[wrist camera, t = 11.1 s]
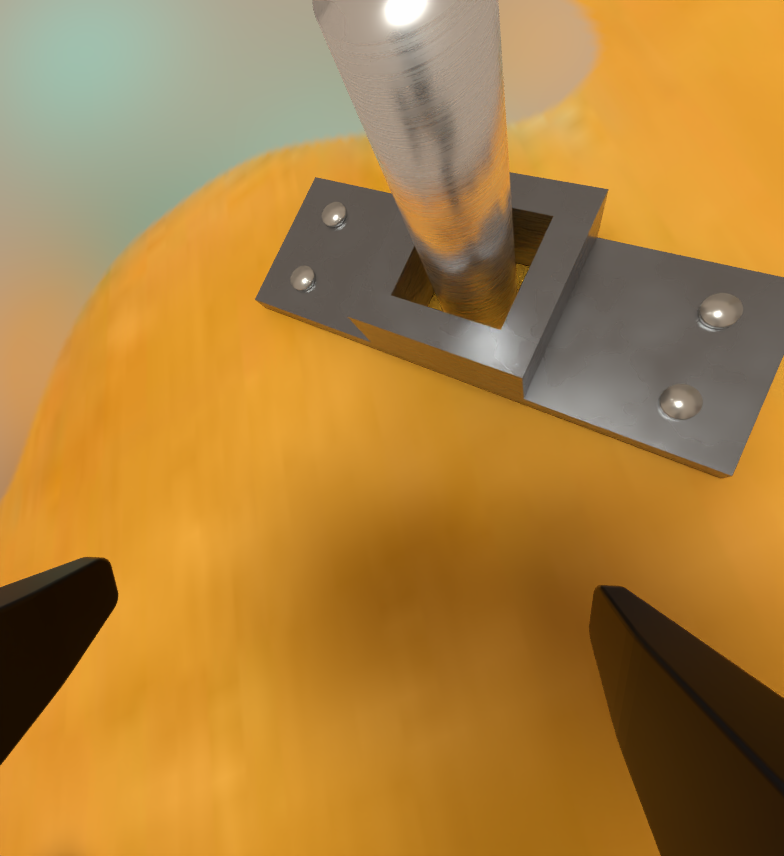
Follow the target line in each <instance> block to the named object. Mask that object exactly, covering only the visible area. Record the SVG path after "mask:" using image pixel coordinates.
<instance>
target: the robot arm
mask: <svg viewBox="0 0 784 856" xmlns="http://www.w3.org/2000/svg"><path fill="white" fill-rule="evenodd" d="M117 601H118V590H117V586H116V582H115V578H114V574H113V570H112V566H111V563H110V562H109V561H108V560H107V559H105V558H99V557H83V558H80V559H77V560H75V561H72V562H69V563H66V564H64V565H61V566H58V567H55V568H53V569H50V570H47V571H44V572H42V573H39V574H36V575H33V576H31V577H28V578H25V579H22V580H19V581H17V582H14V583H11V584H8V585H6V586H3V587H0V765H1V764H2V763H3V762H4V760H5V759H6V758H7V756H8V755H9V754H10V753H11V751H12V750H13V749H14V748H15V746H16V745H17V744H18V742H19V741H20V740H21V739H22V737H23V736H24V735H25V733H26V732H27V731H28V730H29V728H30V727H31V726H32V724H33V723H34V722H35V721H36V719H37V718H38V717H39V715H40V714H41V713H42V712H43V710H44V709H45V708H46V706H47V705H48V704H49V703H50V701H51V700H52V699H53V697H54V696H55V695H56V693H57V692H58V691H59V689H60V688H61V687H62V685H63V684H64V683H65V681H66V680H67V678H68V677H69V675H70V674H71V673H72V671H73V670H74V668H75V667H76V665H77V664H78V662H79V661H80V659H81V658H82V656H83V655H84V653H85V652H86V650H87V649H88V647H89V646H90V644H91V643H92V641H93V640H94V638H95V637H96V635H97V634H98V632H99V631H100V629H101V628H102V626H103V625H104V623H105V621H106V620H107V618H108V617H109V615H110V614H111V612H112V611H113V609H114V608H115V606H116V604H117ZM589 632H590V639H591V644H592V647H593V651H594V655H595V659H596V662H597V666H598V670H599V674H600V677H601V681H602V685H603V689H604V692H605V696H606V700H607V704H608V707H609V711H610V715H611V719H612V722H613V726H614V729H615V733H616V736H617V739H618V742H619V745H620V748H621V751H622V754H623V756H624V759H625V762H626V764H627V767H628V770H629V772H630V775H631V778H632V780H633V783H634V786H635V788H636V791H637V794H638V796H639V799H640V802H641V804H642V807H643V810H644V812H645V815H646V818H647V820H648V823H649V826H650V828H651V831H652V833H653V836H654V839H655V841H656V844H657V847H658V849H659V852H660V855H661V856H784V698H783V697H781V696H780V695H779V694H777V693H776V692H774V691H773V690H771V689H770V688H768V687H767V686H766V685H764V684H763V683H761V682H760V681H758V680H757V679H756V678H754V677H753V676H751V675H750V674H748V673H747V672H745V671H744V670H743V669H741V668H740V667H738V666H737V665H735V664H734V663H732V662H731V661H730V660H728V659H727V658H725V657H724V656H722V655H721V654H719V653H718V652H717V651H715V650H714V649H712V648H711V647H709V646H708V645H707V644H705V643H704V642H702V641H701V640H699V639H698V638H696V637H695V636H694V635H692V634H691V633H689V632H688V631H686V630H685V629H683V628H682V627H681V626H679V625H678V624H676V623H675V622H673V621H672V620H670V619H669V618H668V617H666V616H665V615H663V614H662V613H660V612H659V611H657V610H656V609H655V608H653V607H652V606H650V605H649V604H647V603H646V602H645V601H643V600H642V599H640V598H639V597H637V596H636V595H634V594H633V593H632V592H630V591H629V590H627V589H626V588H624V587H621V586H608V585H599V586H597V587H596V588H595V591H594V594H593V602H592V609H591V616H590V624H589Z"/></svg>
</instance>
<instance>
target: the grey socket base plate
mask: <svg viewBox="0 0 784 856" xmlns="http://www.w3.org/2000/svg"><path fill="white" fill-rule="evenodd" d="M509 173H510V172H509ZM510 188H511V203H512V219H513V234H514V249H515V263H519V264H523V265H527V266H530V268H529V270H528V272H527V274H526V277H525V279H524V281H523V283H522V285H521V287H520V290H519V292H518V294H517V296H516V298H515V300H514V303H513V305H512V307H511V309H510V311H509V313H508V316H507V318H506V320H505V322H504V324H503V326H502V329H501V330H499V329H496V328H493V327H490V326H486V325H483V324H480V323H477V322H474V321H471V320H467V319H464V318H461V317H458V316H455V315H452V314H448V313H445V312H442V311H439V310H436V309H433V308H429V307H427V306H428V304H429V302H430V300H431V298H432V295H433V293H434V289H433V287H432V285H431V282H430V280H429V278H428V275H427V273H426V271H425V268H424V266H423V264H422V261H421V259H420V257H419V255H418V252H417V250H416V248H415V245H414V243H413V241H412V238H411V236H410V234H409V231H408V229H407V227H406V225H405V222H404V220H403V218H402V215H401V213H400V211H399V208H398V206H397V204H396V202H395V199H394V197H393V195H392V194H391V193H386V192H382V191H377V190H372V189H368V188H363V187H358V186H354V185H349V184H344V183H339V182H335V181H330V180H325V179H321V178H316V177H315V179H314V181H313V183H312V185H311V187H310V189H309V191H308V193H307V195H306V198H305V200H304V202H303V204H302V206H301V208H300V210H299V212H298V214H297V216H296V218H295V220H294V222H293V224H292V226H291V228H290V230H289V232H288V234H287V236H286V238H285V240H284V242H283V244H282V246H281V248H280V250H279V252H278V254H277V256H276V258H275V260H274V262H273V264H272V266H271V268H270V270H269V272H268V274H267V276H266V278H265V280H264V282H263V284H262V286H261V288H260V290H259V292H258V294H257V296H256V298H255V300H256V301H258V302H259V303H260V304H261V305H263V306H264V307H265V308H268V309H271V310H273V311H276V312H279V313H281V314H284V315H287V316H289V317H292V318H295V319H297V320H300V321H303V322H305V323H308V324H311V325H313V326H316V327H319V328H321V329H324V330H327V331H329V332H332V333H335V334H337V335H340V336H343V337H345V338H348V339H351V340H353V341H356V342H359V343H361V344H364V345H367V346H369V347H372V348H375V349H377V350H380V351H383V352H385V353H388V354H391V355H393V356H396V357H399V358H401V359H404V360H407V361H409V362H412V363H415V364H417V365H420V366H423V367H425V368H428V369H431V370H433V371H436V372H439V373H441V374H444V375H447V376H449V377H452V378H455V379H457V380H460V381H463V382H465V383H468V384H471V385H473V386H476V387H479V388H481V389H484V390H487V391H489V392H492V393H495V394H497V395H500V396H503V397H505V398H508V399H511V400H513V401H516V402H519V403H521V404H524V405H527V406H529V407H532V408H535V409H537V410H540V411H543V412H545V413H548V414H551V415H553V416H556V417H559V418H561V419H564V420H567V421H569V422H572V423H575V424H577V425H580V426H583V427H585V428H588V429H591V430H593V431H596V432H599V433H601V434H604V435H607V436H610V437H612V438H615V439H618V440H620V441H623V442H626V443H628V444H631V445H634V446H636V447H639V448H642V449H644V450H647V451H650V452H652V453H655V454H658V455H660V456H663V457H666V458H668V459H671V460H674V461H676V462H679V463H682V464H684V465H687V466H690V467H692V468H695V469H698V470H700V471H703V472H706V473H708V474H711V475H714V476H716V477H719V478H725V477H730V476H732V475H733V473H734V471H735V468H736V466H737V464H738V461H739V459H740V457H741V454H742V452H743V449H744V447H745V445H746V442H747V440H748V438H749V435H750V433H751V431H752V428H753V426H754V424H755V421H756V419H757V417H758V414H759V412H760V409H761V407H762V405H763V402H764V400H765V398H766V395H767V393H768V391H769V388H770V386H771V384H772V381H773V379H774V376H775V374H776V372H777V369H778V367H779V365H780V362H781V360H782V358H783V355H784V277H779V276H774V275H770V274H765V273H760V272H756V271H751V270H746V269H742V268H737V267H732V266H728V265H723V264H718V263H714V262H709V261H704V260H700V259H695V258H690V257H686V256H681V255H676V254H672V253H667V252H662V251H657V250H653V249H648V248H643V247H639V246H634V245H629V244H625V243H620V242H615V241H611V240H606V239H601V238H597V236H598V232H599V228H600V223H601V219H602V215H603V210H604V206H605V202H606V198H607V193H608V189H603V188H597V187H592V186H586V185H580V184H574V183H568V182H562V181H557V180H551V179H545V178H539V177H533V176H528V175H522V174H516V173H510Z"/></svg>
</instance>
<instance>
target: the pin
mask: <svg viewBox="0 0 784 856" xmlns="http://www.w3.org/2000/svg"><path fill="white" fill-rule="evenodd" d="M313 10H314V13H315V17H316V19H317V22H318V24H319V26H320V28H321V30H322V33H323V35H324V38H325V40H326V42H327V45H328V47H329V49H330V51H331V54H332V56H333V58H334V61H335V63H336V65H337V68H338V70H339V72H340V74H341V77H342V79H343V82H344V84H345V86H346V88H347V91H348V93H349V95H350V98H351V100H352V102H353V104H354V107H355V109H356V111H357V114H358V116H359V118H360V121H361V123H362V125H363V128H364V130H365V132H366V135H367V137H368V139H369V142H370V144H371V146H372V148H373V151H374V153H375V155H376V158H377V160H378V162H379V165H380V167H381V169H382V172H383V174H384V176H385V178H386V181H387V183H388V185H389V188H390V190H391V192H392V195H393V197H394V199H395V202H396V204H397V206H398V208H399V211H400V213H401V215H402V218H403V220H404V222H405V225H406V227H407V229H408V231H409V234H410V236H411V238H412V241H413V243H414V245H415V248H416V250H417V252H418V255H419V257H420V259H421V261H422V264H423V266H424V268H425V271H426V273H427V275H428V278H429V280H430V282H431V285H432V287H433V289H434V291H435V294H436V296H437V298H438V301H439V303H440V305H441V308H442V310H443V312H445V313H448V314H452V315H455V316H458V317H461V318H464V319H467V320H471V321H474V322H477V323H480V324H483V325H486V326H490V327H493V328H496V329H499V330H501V329H502V326H503V324H504V322H505V320H506V318H507V316H508V313H509V311H510V309H511V307H512V305H513V303H514V300H515V298H516V296H517V280H516V264H515V249H514V234H513V219H512V203H511V188H510V173H509V158H508V143H507V127H506V113H505V97H504V82H503V67H502V51H501V37H500V21H499V6H498V0H313Z"/></svg>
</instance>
